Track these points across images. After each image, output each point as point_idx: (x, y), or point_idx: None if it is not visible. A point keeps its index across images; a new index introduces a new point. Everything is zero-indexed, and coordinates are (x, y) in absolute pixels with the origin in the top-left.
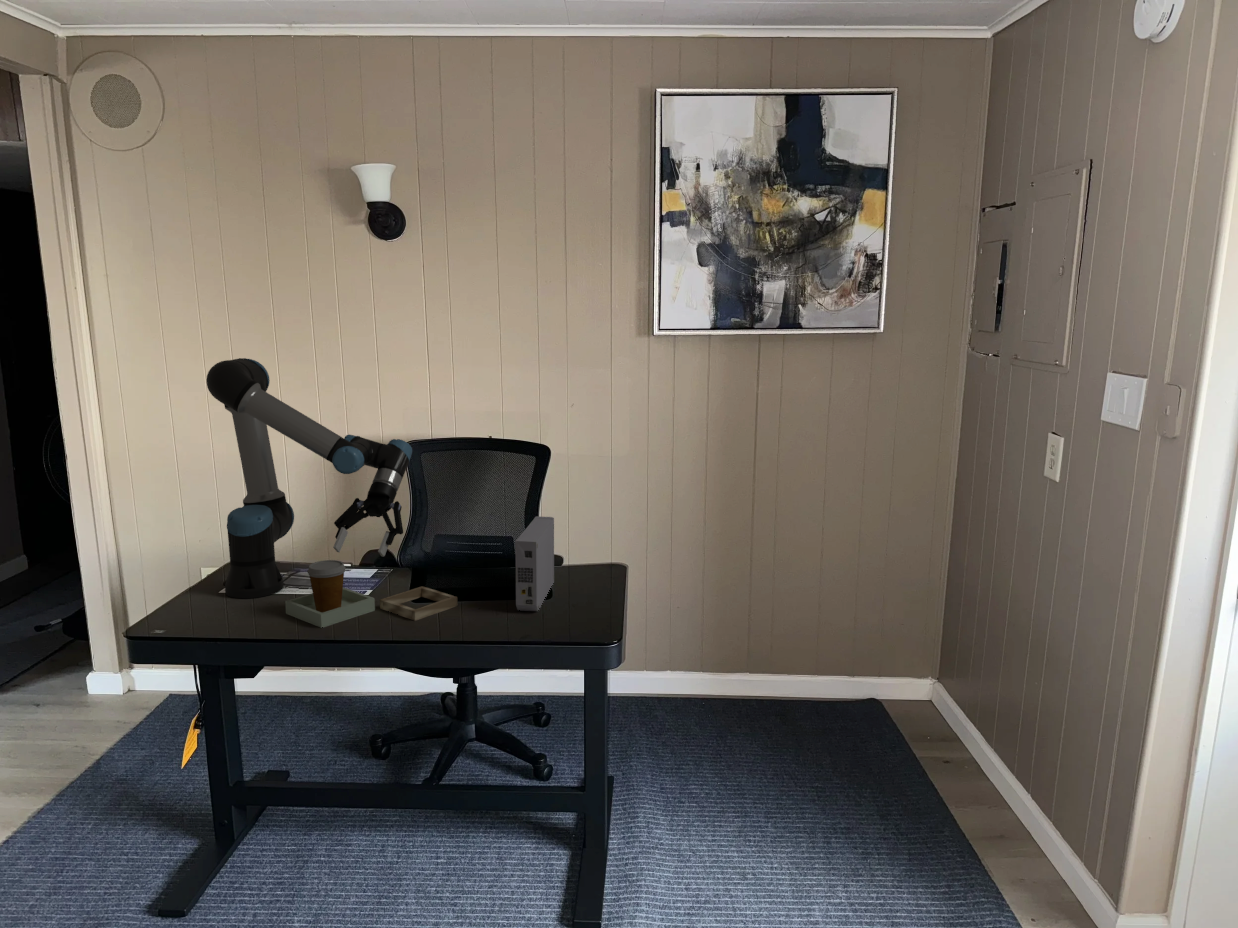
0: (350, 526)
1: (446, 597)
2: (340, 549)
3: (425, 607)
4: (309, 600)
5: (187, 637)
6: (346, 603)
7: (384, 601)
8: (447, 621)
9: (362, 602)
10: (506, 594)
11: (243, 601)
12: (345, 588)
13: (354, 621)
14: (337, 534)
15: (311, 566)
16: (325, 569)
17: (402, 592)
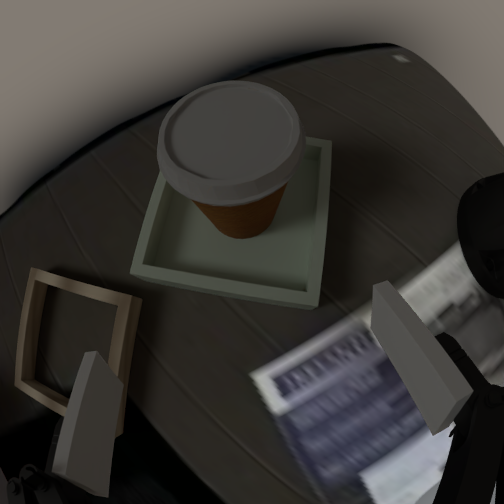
0: (446, 469)
1: (33, 386)
2: (378, 337)
3: (25, 299)
4: (315, 201)
5: (350, 51)
6: (229, 261)
7: (114, 291)
8: (7, 298)
9: (141, 233)
10: (15, 462)
11: (456, 178)
12: (274, 297)
13: (144, 202)
14: (452, 350)
15: (277, 103)
16: (187, 96)
17: (117, 374)
